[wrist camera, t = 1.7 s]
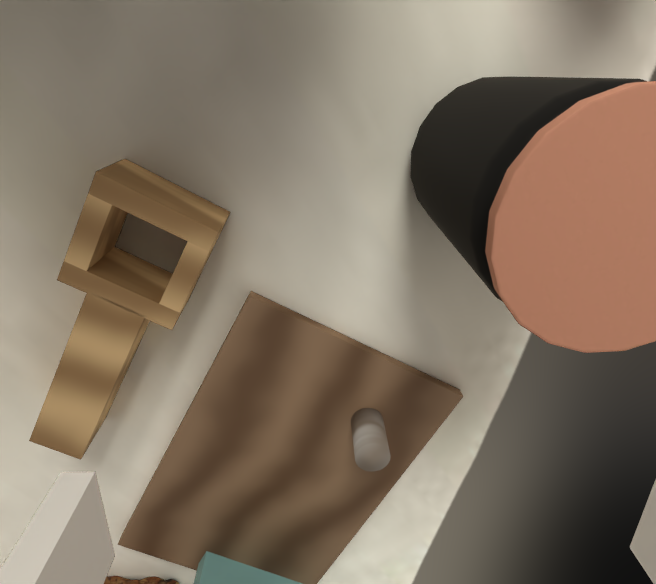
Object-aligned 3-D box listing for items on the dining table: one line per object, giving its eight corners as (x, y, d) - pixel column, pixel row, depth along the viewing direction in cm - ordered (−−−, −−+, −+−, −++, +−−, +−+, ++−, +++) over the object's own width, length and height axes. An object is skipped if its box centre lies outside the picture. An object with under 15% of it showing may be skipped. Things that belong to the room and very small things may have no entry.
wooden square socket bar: (127, 426, 44) (105, 468, 39) (36, 392, 42) (2, 431, 37) (230, 212, 36) (218, 232, 32) (124, 158, 34) (95, 171, 30)
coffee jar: (503, 252, 38) (649, 388, 22) (380, 194, 36) (438, 297, 19) (587, 119, 34) (843, 162, 18) (456, 46, 32) (607, 17, 16)
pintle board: (121, 535, 49) (99, 588, 44) (250, 290, 39) (241, 323, 34) (300, 595, 53) (299, 649, 48) (459, 389, 43) (479, 431, 38)
